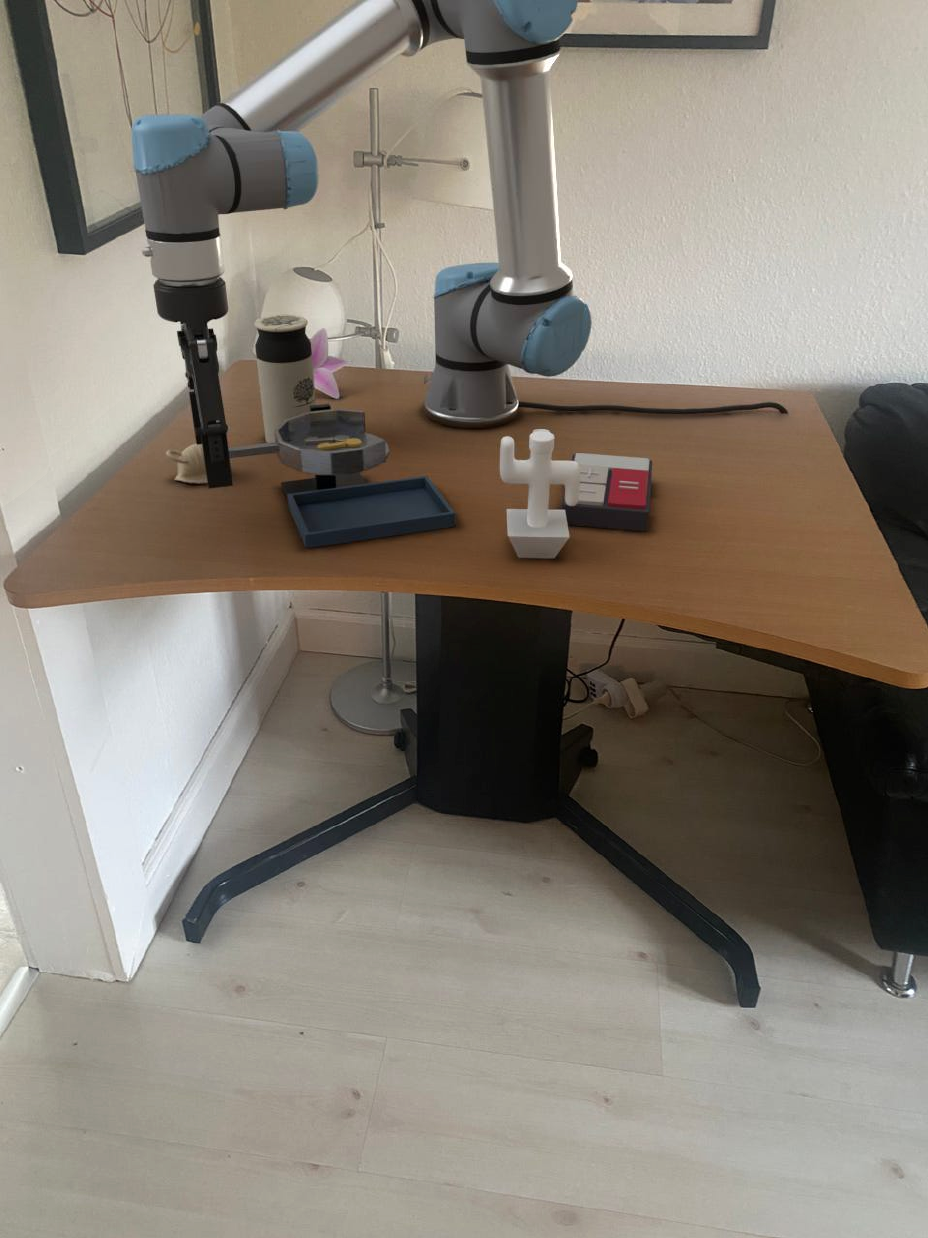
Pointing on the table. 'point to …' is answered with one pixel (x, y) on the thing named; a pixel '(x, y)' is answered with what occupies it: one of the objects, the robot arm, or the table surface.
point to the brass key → (340, 444)
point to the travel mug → (284, 369)
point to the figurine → (538, 496)
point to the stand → (321, 480)
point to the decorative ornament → (190, 464)
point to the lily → (324, 365)
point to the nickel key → (327, 439)
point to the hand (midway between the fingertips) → (213, 463)
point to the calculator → (611, 492)
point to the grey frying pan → (320, 426)
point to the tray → (369, 511)
